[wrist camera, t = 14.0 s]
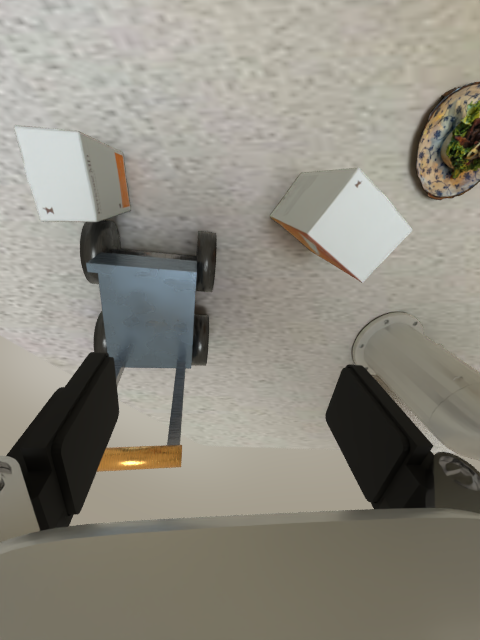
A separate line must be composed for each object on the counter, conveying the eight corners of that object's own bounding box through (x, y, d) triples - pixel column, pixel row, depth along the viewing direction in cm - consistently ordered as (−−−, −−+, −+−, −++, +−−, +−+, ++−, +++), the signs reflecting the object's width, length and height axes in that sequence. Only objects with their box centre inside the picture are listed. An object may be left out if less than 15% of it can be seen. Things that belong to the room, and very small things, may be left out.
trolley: (214, 228, 33) (235, 288, 14) (204, 347, 41) (209, 485, 22) (100, 215, 30) (-59, 266, 12) (113, 344, 38) (33, 498, 20)
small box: (268, 216, 33) (304, 233, 22) (301, 171, 31) (360, 163, 20) (311, 253, 36) (363, 285, 25) (343, 213, 34) (416, 228, 23)
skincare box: (132, 210, 31) (98, 224, 20) (94, 209, 30) (37, 223, 19) (124, 150, 28) (79, 129, 17) (81, 147, 27) (8, 124, 17)
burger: (429, 78, 29) (496, 47, 22) (515, 93, 31) (600, 68, 24) (392, 196, 34) (438, 198, 28) (467, 202, 36) (526, 206, 30)
